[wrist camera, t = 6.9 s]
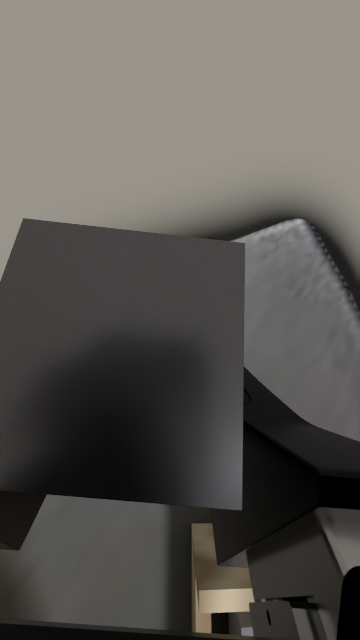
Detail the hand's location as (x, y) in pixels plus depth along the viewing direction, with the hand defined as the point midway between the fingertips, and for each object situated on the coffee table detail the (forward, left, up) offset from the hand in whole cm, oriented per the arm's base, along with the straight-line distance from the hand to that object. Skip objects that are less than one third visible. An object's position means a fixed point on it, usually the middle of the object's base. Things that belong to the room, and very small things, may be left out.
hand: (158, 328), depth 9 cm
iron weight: (0, -1, -7) cm, 7 cm away
